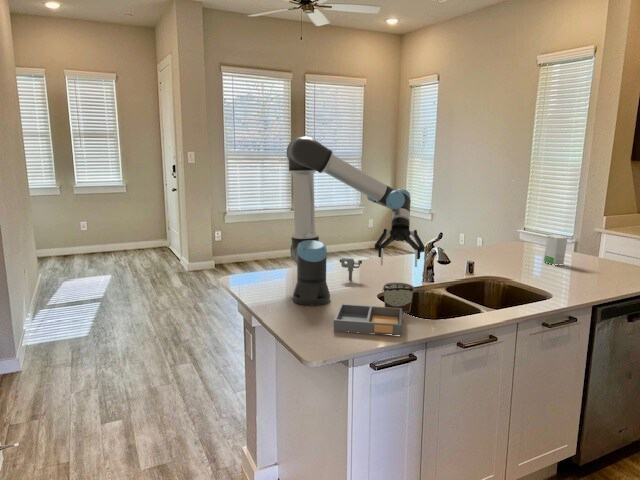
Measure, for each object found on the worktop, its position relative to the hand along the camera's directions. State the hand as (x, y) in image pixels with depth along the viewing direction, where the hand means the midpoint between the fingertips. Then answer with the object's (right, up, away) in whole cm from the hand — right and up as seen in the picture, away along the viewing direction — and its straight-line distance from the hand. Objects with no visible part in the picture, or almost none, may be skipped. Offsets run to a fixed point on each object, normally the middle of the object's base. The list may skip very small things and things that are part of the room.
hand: (398, 264), depth 183 cm
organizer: (-14, -20, -23) cm, 34 cm away
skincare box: (+96, -4, +67) cm, 117 cm away
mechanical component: (-17, -9, +31) cm, 37 cm away
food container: (-2, -17, -7) cm, 19 cm away
